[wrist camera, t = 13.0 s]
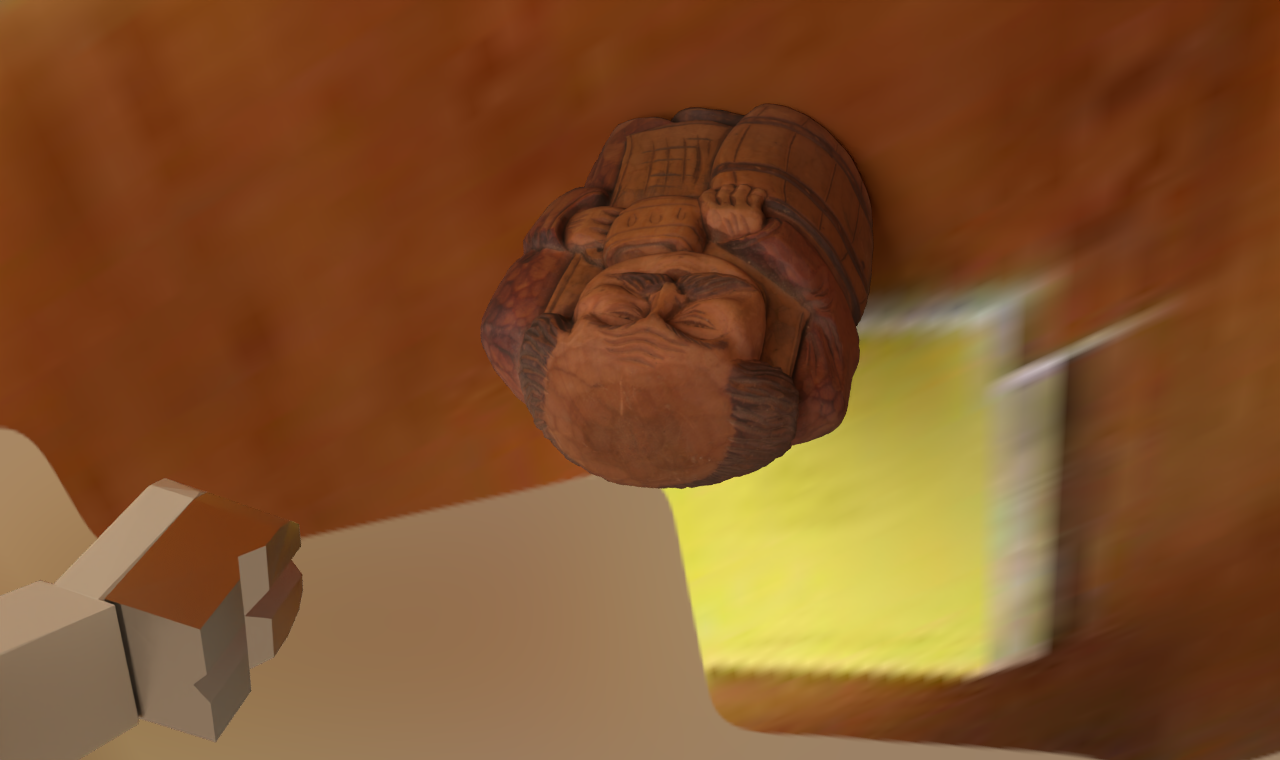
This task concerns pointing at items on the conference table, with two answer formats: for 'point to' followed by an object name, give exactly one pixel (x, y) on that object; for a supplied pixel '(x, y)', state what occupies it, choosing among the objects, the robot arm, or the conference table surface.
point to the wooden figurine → (691, 298)
